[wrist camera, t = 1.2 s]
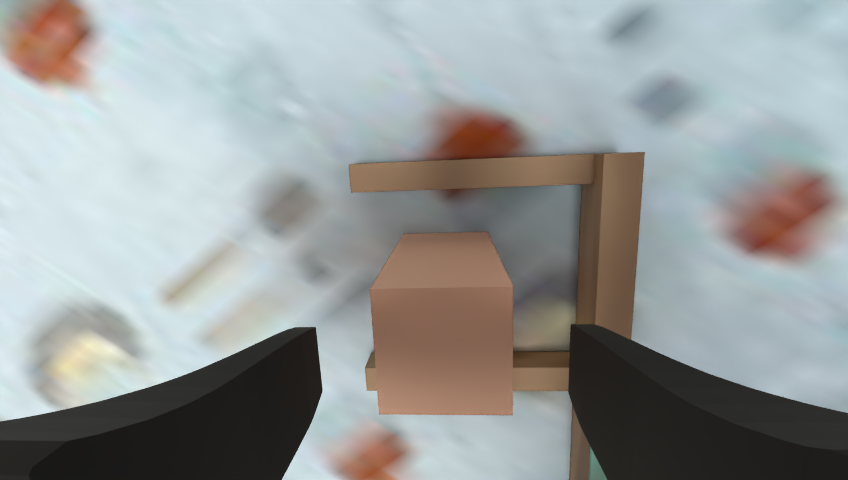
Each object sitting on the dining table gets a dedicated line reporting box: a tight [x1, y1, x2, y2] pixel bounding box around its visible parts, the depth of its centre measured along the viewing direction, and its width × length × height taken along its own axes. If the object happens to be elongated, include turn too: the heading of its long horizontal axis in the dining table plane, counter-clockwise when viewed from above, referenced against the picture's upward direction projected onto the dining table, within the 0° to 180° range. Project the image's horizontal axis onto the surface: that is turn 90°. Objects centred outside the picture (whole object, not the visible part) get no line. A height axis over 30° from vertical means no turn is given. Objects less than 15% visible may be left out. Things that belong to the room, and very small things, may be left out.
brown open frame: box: [349, 152, 645, 480], centre depth 20 cm, size 12×30×3 cm, turn 2°
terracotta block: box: [370, 232, 513, 415], centre depth 15 cm, size 4×4×8 cm
